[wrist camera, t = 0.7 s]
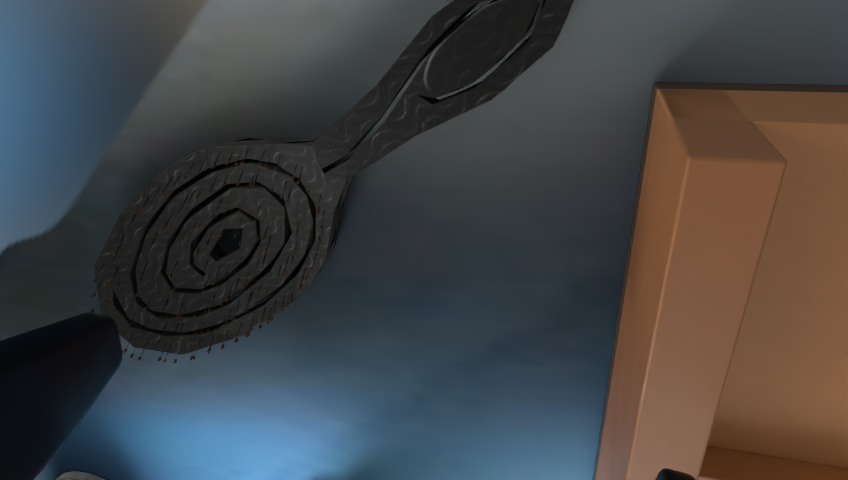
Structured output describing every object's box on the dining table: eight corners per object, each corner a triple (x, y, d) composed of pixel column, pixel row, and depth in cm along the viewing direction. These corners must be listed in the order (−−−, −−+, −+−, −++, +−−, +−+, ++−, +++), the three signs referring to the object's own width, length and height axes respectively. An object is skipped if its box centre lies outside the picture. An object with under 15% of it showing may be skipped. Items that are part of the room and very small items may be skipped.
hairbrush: (647, 98, 16) (163, 404, 27) (633, 76, 19) (205, 357, 30) (482, -165, 14) (32, 275, 25) (496, -141, 18) (92, 240, 28)
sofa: (818, 528, 26) (894, 725, 19) (591, 486, 28) (592, 648, 22) (1020, 87, 16) (1301, 184, 10) (653, 81, 19) (687, 156, 12)
